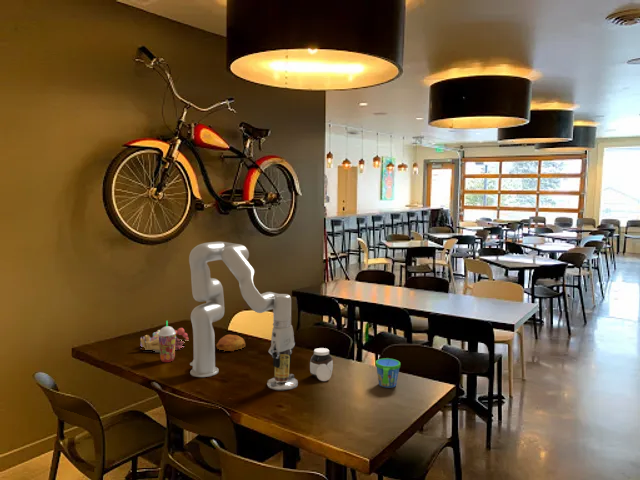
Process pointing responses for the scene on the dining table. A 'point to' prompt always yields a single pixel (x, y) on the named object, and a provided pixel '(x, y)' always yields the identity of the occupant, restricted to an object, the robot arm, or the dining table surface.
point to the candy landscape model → (154, 342)
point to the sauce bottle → (283, 366)
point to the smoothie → (167, 343)
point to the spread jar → (321, 364)
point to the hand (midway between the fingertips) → (282, 364)
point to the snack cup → (387, 372)
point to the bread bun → (230, 343)
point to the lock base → (283, 383)
